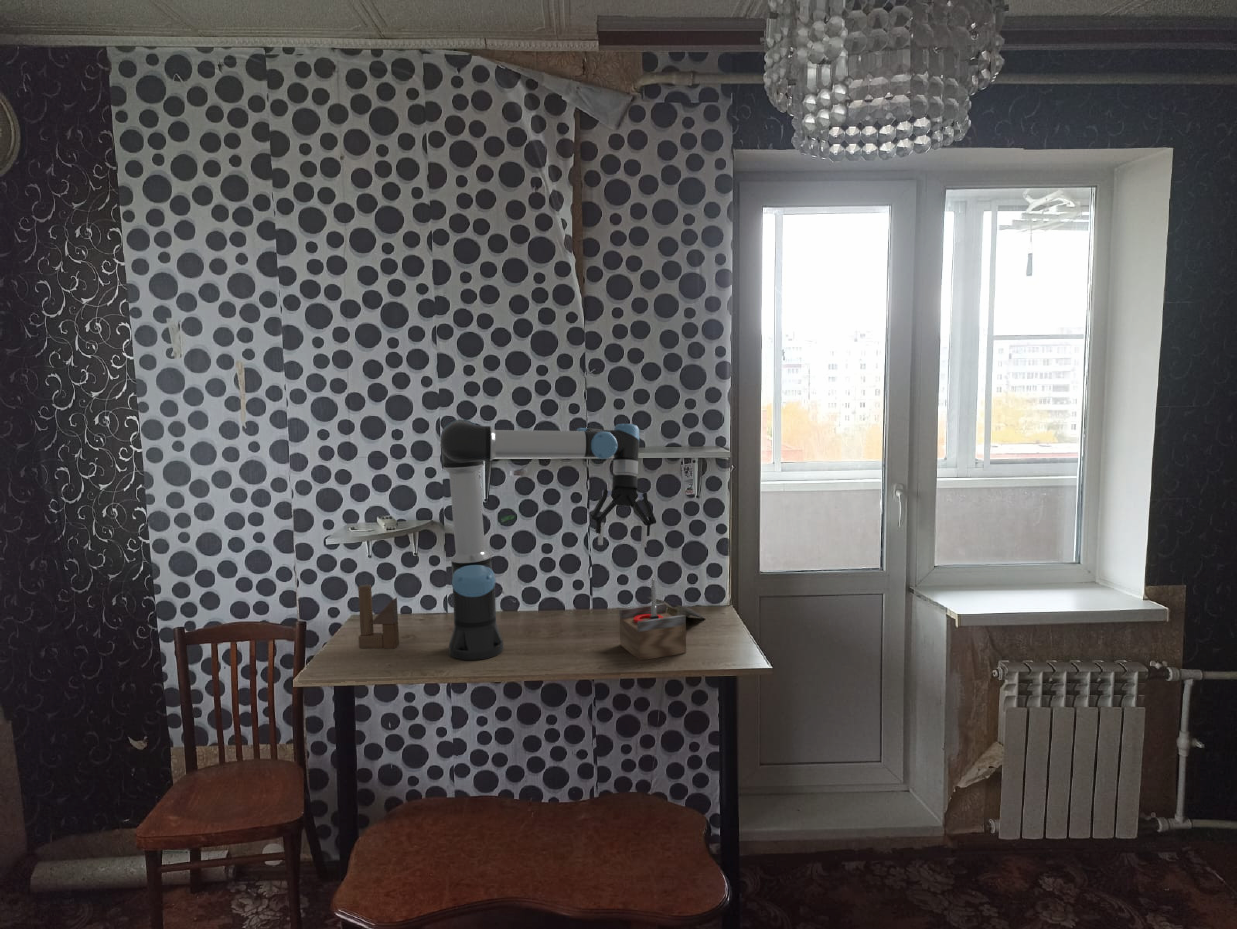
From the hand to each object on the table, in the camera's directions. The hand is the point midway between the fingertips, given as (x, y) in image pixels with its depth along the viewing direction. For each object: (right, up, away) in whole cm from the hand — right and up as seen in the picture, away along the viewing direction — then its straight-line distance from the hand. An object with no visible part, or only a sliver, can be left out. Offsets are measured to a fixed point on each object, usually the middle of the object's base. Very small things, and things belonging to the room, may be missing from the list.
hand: (622, 546), depth 235 cm
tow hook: (+7, -20, -14) cm, 25 cm away
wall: (+17, -25, +11) cm, 32 cm away
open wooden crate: (+9, -28, -13) cm, 32 cm away
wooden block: (-70, -29, -7) cm, 76 cm away
